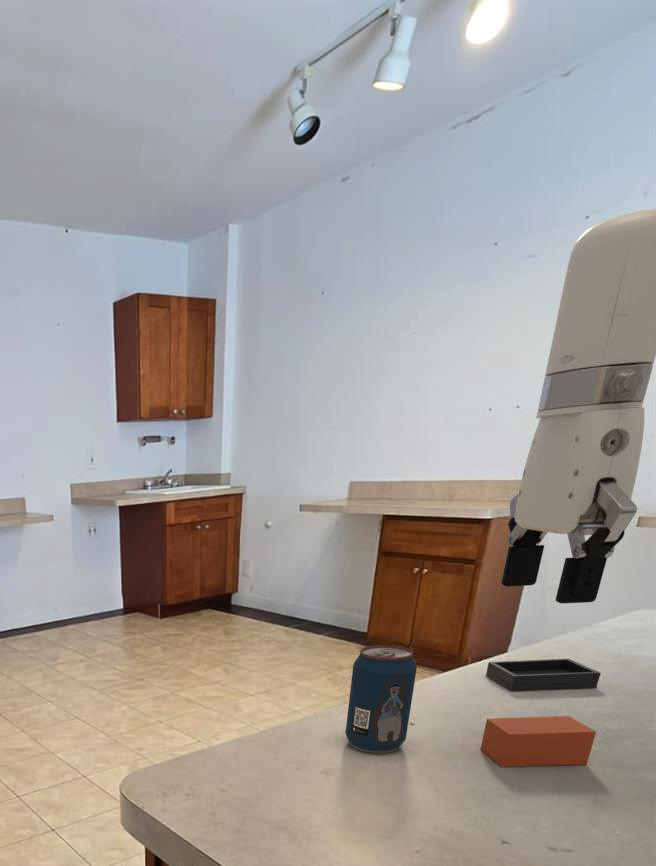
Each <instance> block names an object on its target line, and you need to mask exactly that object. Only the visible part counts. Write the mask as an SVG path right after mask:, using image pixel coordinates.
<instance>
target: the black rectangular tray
mask: <svg viewBox="0 0 656 866" xmlns="http://www.w3.org/2000/svg"><path fill="white" fill-rule="evenodd" d="M601 673H602V672H600V671H597V670H595V669H593V668H591V667H589V666H586V665H584V664H581V663H580V662H578V661H575V660H573V659H571V658H550V659H548V658H547V659H528V660H527V659H526V660H506V661H505V660H503V661H488V664H487V668H486V672H485V677H487V678H489V679H490V680H491V681H494V682H495V683H497V684H498V685H500V686H502V687H504V688H505V689H507V690H508V691H511V692H522V691H526V692H527V691H545V690H546V691H550V690H578V689H597V687H598V684H599V680H600V677H601Z"/></svg>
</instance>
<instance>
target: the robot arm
mask: <svg viewBox="0 0 656 866" xmlns="http://www.w3.org/2000/svg"><path fill="white" fill-rule="evenodd" d="M573 245H574V246H573V247H572V250H571V252H570V256H569V259H568V263H567V267H566V272H565V277H564V283H563V287H562V292H561V297H560V302H559V306H558V312H557V317H556V321H555V326H554V331H553V335H552V340H551V345H550V350H549V354H548V360H547V364H546V369H545V374H544V378H543V384H542V387H541V393H540V397H539V398H540V399H539V403H538V408H537V413H536V419H539V421H538V423H537V426H536V428H535V432H534V435H533V438H532V440H531V443H530V446H529V447H530V448H529V451H528V455H527V457H526V462H525V465H524V468H523V472H522V477H521V481H520V485H519V489H518V493H517V494H516V495H514V496H513V497H512V498H511V500H510V502H509V516H510V517H509V518H510V519H509V521H508V523H507V525H508V530H509V533H510V534H509V535H508V537H507V546H508V549H507V555H506V559H505V564H504V568H503V575H502V577H501V578H502V579H501V585H502V586H504V587H524V586H534V585H535V584H536V583H537V580H538V575H539V571H540V567H541V562H542V557H543V553H544V549H545V545H544V544H541V543H542V541H543V540H544V538H545V537H546V535H547V534H548V533H551V534H552V533H553V534H561V535H567V538H568V544H569V547H570V553H571V556H572V557H565V560H564V563H563V567H562V571H561V576H560V579H559V584H558V587H557V591H556V595H555V602H556V603H559V604H581V603H582V604H583V603H593V602H594V601H596V600H597V597H598V593H599V589H600V586H601V582H602V578H603V575H604V572H605V567H606V564H607V560H608V558H610V557H612V556H613V555H614V552H615V547H616V546H617V545H618V544H619V543H620V542H621V540H622V539H623V538H624V536H625V531H626V529H627V528H628V526H629V525H630V523H631V521H632V520H633V518H634V517H635V515H636V513H637V511H638V506H637V505H636V504H635V502H633V500H632V498H633V493H634V488H635V483H636V479H637V475H638V470H639V464H640V459H641V455H642V454H641V453H642V447H643V439H644V429H645V407H643V404H644V401H645V397H646V393H647V390H648V386H649V382H650V379H651V376H652V371H653V367H654V363H655V360H656V208H649V209H644V210H638V211H634V212H630V213H625V214H622V215H621V214H620V215H618V216H615V217H612V218H610V219H609V218H608V219H607V220H604V221H602V222H600V223H598V224H596V225H594V226H592V227H590V228H588V229H586V231H585V232H584V233H582V234H581V235H580V236H579V238H578V239H577V240H576V242H575V243H574V244H573ZM586 536H589V537H588V539H587V540H586V538H585V537H586Z"/></svg>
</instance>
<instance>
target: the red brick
mask: <svg viewBox="0 0 656 866" xmlns="http://www.w3.org/2000/svg"><path fill="white" fill-rule="evenodd" d="M485 721H486V722H485V726H484V729H483V736H482V740H481V744H480V751H481V752H483V753H484V754H485V755H487V757H489V758H490V759H491V760H492V761H494V762H495V763H496V764H497V765H498V766H500V767H501V768H505V767H506V768H511V767H553V766H554V767H555V766H587V765H588V762H589V758H590V755H591V751H592V748H593V744H594V741H595V738H596V735H597V731H596V730H594V729H592V728H590V727H589V726H587V725H585V724H583V723H582V722H581V721H578V720H577V719H575V718H573V717H571V716H570V715H559V716H558V715H557V716H556V715H555V716H529V717H528V716H527V717H501V718H500V717H498V718H495V717H494V718H486V720H485Z"/></svg>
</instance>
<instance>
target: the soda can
mask: <svg viewBox="0 0 656 866" xmlns="http://www.w3.org/2000/svg"><path fill="white" fill-rule="evenodd" d="M417 669H418V667H417V664H416V660H415V658H414V651H413V650H412V649H410V648H407V647H403V646H399V645H392V644H391V645H389V644H378V645H377V644H376V645H375V644H374V645H368V646H364V647H362V648H361V649H360V650H359V655H358V656H357V658H356V659H355V661H354V662H353V664H352V671H351V672H352V673H351V681H350V690H349V699H348V706H347V707H348V708H347V714H346V715H347V717H346V725H345V737H346V738H347V740H348V742H349V744H350V746H351V747H352V748H354V749H355V750H358V751H361V752H365V753H369V754H370V753H371V754H388V753H393V752H395V751H397V750H398V749H399V748H400V747H401V746H402V745H403V743H405V741H406V739H407V735H408V728H409V721H410V714H411V709H412V701H413V696H414V695H413V694H414V690H415V689H414V688H415V683H416V676H417V675H416V674H417Z"/></svg>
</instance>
